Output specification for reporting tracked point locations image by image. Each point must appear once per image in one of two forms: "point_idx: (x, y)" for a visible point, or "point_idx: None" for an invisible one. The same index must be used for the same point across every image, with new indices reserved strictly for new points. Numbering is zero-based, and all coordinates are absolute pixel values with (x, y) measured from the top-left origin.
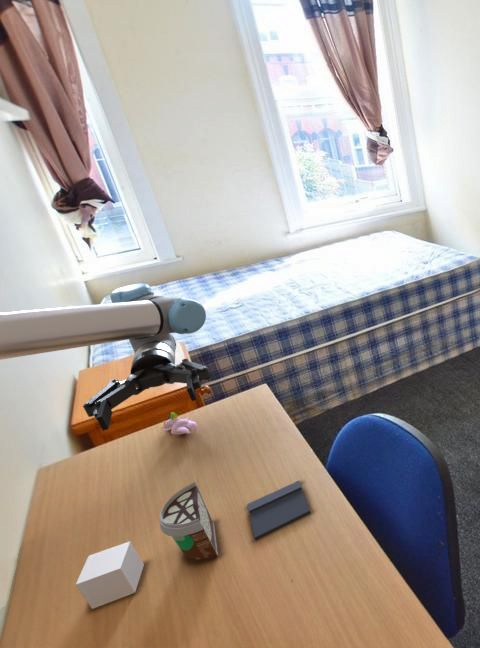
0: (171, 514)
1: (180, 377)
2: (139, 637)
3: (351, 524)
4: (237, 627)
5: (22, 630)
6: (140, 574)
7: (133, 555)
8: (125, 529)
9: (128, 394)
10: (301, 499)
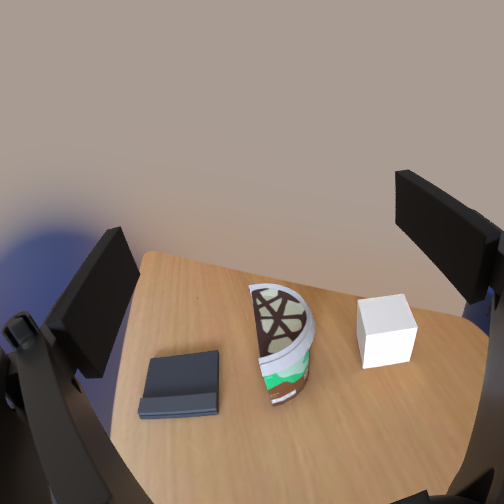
0: (294, 315)
1: (90, 429)
2: (329, 291)
3: (130, 328)
4: (245, 278)
5: (461, 322)
6: (360, 353)
7: (363, 340)
8: (428, 447)
9: (481, 414)
10: (150, 381)
